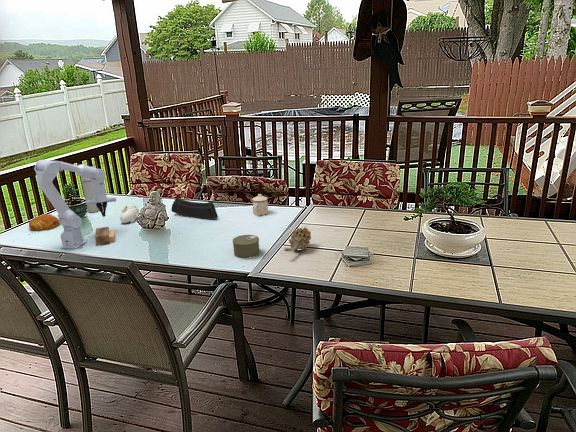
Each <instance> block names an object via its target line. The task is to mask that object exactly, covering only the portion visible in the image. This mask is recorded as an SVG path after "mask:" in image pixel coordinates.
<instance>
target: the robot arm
mask: <svg viewBox="0 0 576 432" xmlns="http://www.w3.org/2000/svg"><path fill="white" fill-rule="evenodd" d="M33 170H34V171H35V175H36V182H37V183H36V184H37V185H38V187H39V189H41V191H42V192H43V194H44V195H45V196H46V198H47V199H48V201H49V202H50V203H51V205H52V206H53V208H54V210H55V211H56V212H57V215H56V217H57V218H58V219H59V222H60V224H59V225H60V226H62V227H63V231H62V232H61V234H60V240H61V245H62V246H61V249H70V250H71V249H73V250H77V249H78V248H80V247H81V246H83V245H84V244H86V243H87V242H88V240H84V239H83V235H82V229H81V226H82V224H83V219H82V218H81V217H80V216H79V215H77V214H76V213H75V212H74V211H73V210H72V209H71V208H70V207H69V206H68V204H67V203H66V201H65V199H64V198H63V196H62V195H61V194H60V192H59V191H58V189H57V188H56V186H55V185H54V182H53V181H54V179H55V178H56V177H57V175H58V174H59V172H63V171H67V172H68V171H69V172H73V173H76V175H77V176H79V177H81V176H82V177H87V178H90V179H91V181H92V186H93V192H94V197H95V199H93V200H88V201H85V206H86V205H90V204H96V206H97V207H98V209H99V212H100V213H101V216H102V217H103V218H104V217H105V218H106V211H107V206H108V203H114V202H117V197H116V196H114V197H107V196H108V195H107V190H106V185H105V177H106V173H105V172H104V170H103V169H101V168H96V167H95V166H88V165H87V164H86V163H82V164H78V165H75V164H72V163H68V162H64V161H59V160H47V159H39V160H38V161H36V163H35V165H34V168H33Z"/></svg>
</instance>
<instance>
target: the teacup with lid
mask: <svg viewBox="0 0 576 432" xmlns="http://www.w3.org/2000/svg"><path fill="white" fill-rule="evenodd" d="M268 200H269V198H268V197H267V196H264V195H262V194H261V193H258V194H257V196H255V197H253V198H252V199H251V201H252V211H253V215H254V214H255V215H254V216H258V215H262V216H266V215H268V214H269V205H268V204H269V203H268ZM267 213H268V214H267ZM265 214H266V215H265Z"/></svg>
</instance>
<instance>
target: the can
mask: <svg viewBox="0 0 576 432" xmlns="http://www.w3.org/2000/svg"><path fill="white" fill-rule="evenodd" d="M232 245H233V246H232V247H233V255H234V257H236V258H239V259H250V258H249V257H252V258H254V257H253V256H255V257H257V256H258V255H260V238H259V236H258V235H254V234H242V235H238V236H235V237H234V238H233V239H232ZM257 254H258V255H257ZM256 255H257V256H256Z"/></svg>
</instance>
